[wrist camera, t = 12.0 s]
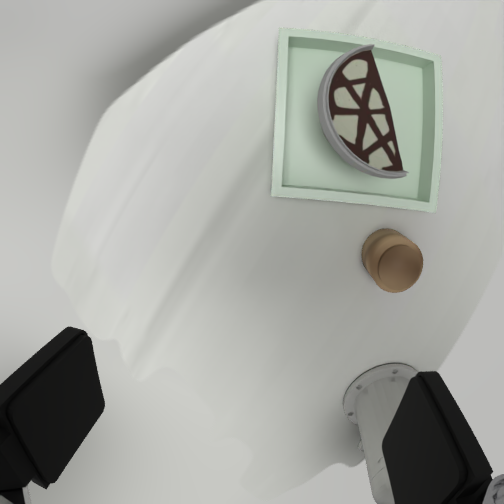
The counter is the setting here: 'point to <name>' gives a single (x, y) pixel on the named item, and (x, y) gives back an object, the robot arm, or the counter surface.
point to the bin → (320, 150)
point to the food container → (359, 115)
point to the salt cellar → (392, 260)
